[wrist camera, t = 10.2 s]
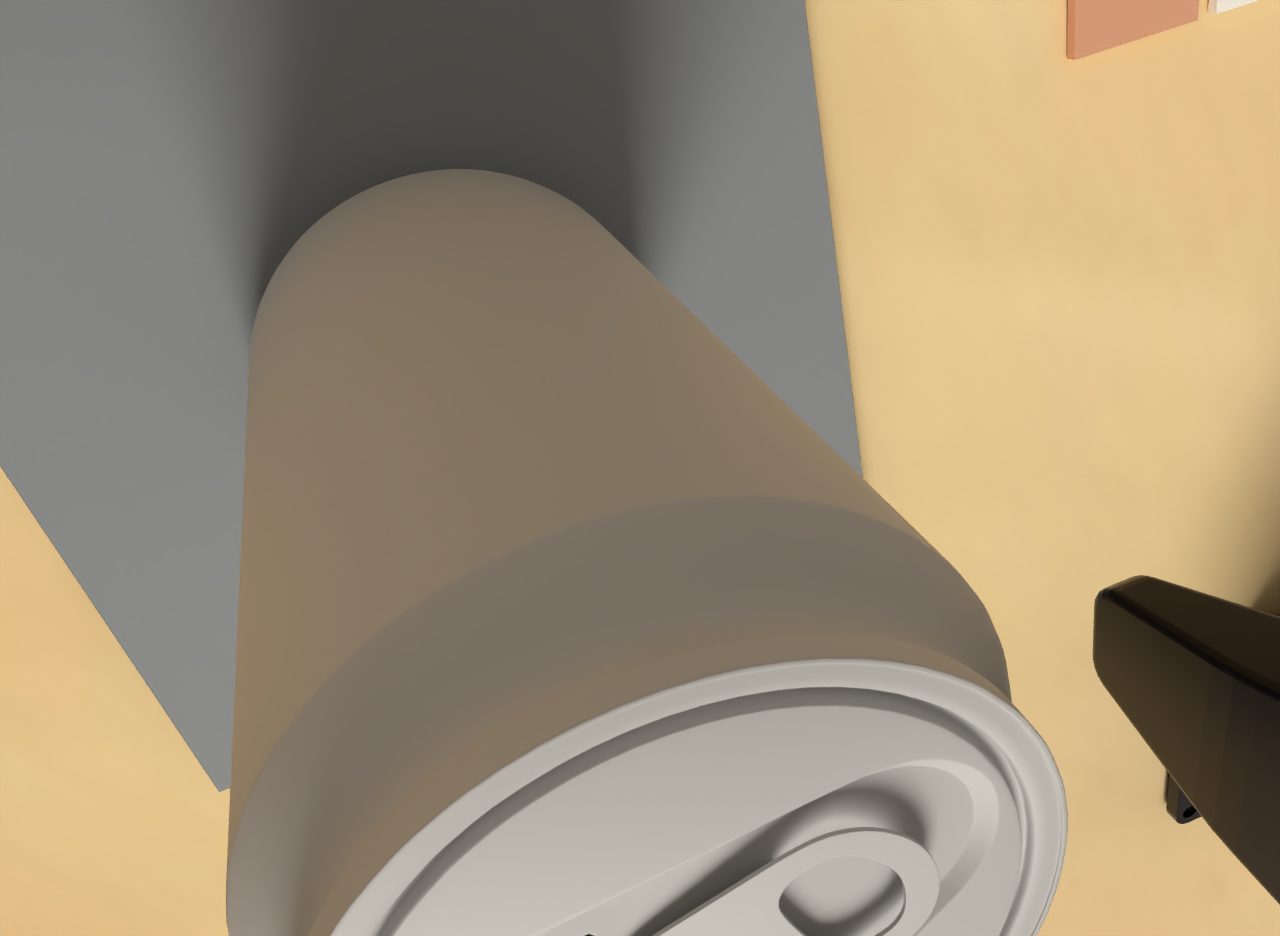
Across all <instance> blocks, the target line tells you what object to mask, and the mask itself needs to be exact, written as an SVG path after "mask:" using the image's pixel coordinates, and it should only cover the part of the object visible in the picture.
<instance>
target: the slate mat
mask: <svg viewBox="0 0 1280 936" xmlns="http://www.w3.org/2000/svg"><path fill="white" fill-rule="evenodd" d="M446 169H473V170H484V171H492V172H497V173H503V174H508V175H511V176H515V177H518V178H522V179H525V180H528V181H531V182H533V183H536V184H539V185H541V186H544V187H546V188H548V189H550V190H552V191H554V192H556V193H558V194H560V195H562V196H563V197H565V198H567V199H569V200H571V201H572V202H574V203H575V204H577V205H578V206H580V207H581V208H582V209H583V210H585V211H586V212H587V213H588V214H590V215H591V216H592V217H593V218H595V219H596V220H597V221H598V222H599V223H600V224H601V225H602V226H603V227H604V228H605V229H606V230H608V231H609V232H610V233H611V234H612V235H613V236H614V237H615V238H616V239H617V240H618V241H619V242H620V243H621V244H622V245H623V246H624V247H625V248H626V249H627V250H628V251H629V252H630V253H631V254H632V255H633V256H634V257H635V258H636V259H637V260H638V261H639V262H640V263H641V264H643V265H644V266H645V267H646V268H647V269H648V270H649V271H650V272H651V273H652V274H653V275H654V276H655V277H656V278H657V279H658V280H659V281H660V282H661V283H662V284H663V285H664V286H665V287H666V288H667V289H668V290H669V291H670V292H671V293H672V294H673V295H674V296H675V297H676V298H678V299H679V300H680V301H681V302H682V303H683V304H684V305H685V306H686V307H687V308H688V309H689V310H690V311H691V312H692V313H693V314H694V315H695V316H696V317H697V318H698V319H699V320H700V321H701V322H702V323H703V324H704V325H705V326H706V327H707V328H708V329H709V330H710V331H711V332H713V333H714V334H715V335H716V336H717V337H718V338H719V339H720V340H721V341H722V342H723V343H724V344H725V345H726V346H727V347H728V348H729V349H730V350H731V351H732V352H733V353H734V354H735V355H736V356H737V357H738V358H739V359H740V360H741V361H742V362H743V363H744V364H745V365H746V366H748V367H749V368H750V369H751V370H752V371H753V372H754V373H755V374H756V375H757V376H758V377H759V378H760V379H761V380H762V381H763V382H764V383H765V384H766V385H767V386H768V387H769V388H770V389H771V390H772V391H773V392H774V393H775V394H776V395H777V396H778V397H779V398H780V399H781V400H783V401H784V402H785V403H786V404H787V405H788V406H789V407H790V408H791V409H792V410H793V411H794V412H795V413H796V414H797V415H798V416H799V417H800V418H801V419H802V420H803V421H804V422H805V423H806V424H807V425H808V426H809V427H810V428H811V429H812V430H813V431H814V432H815V433H816V434H818V435H819V436H820V437H821V438H822V439H823V440H824V441H825V442H826V443H827V444H828V445H829V446H830V447H831V448H832V449H833V450H834V451H835V452H836V453H837V454H838V455H839V456H840V457H841V458H842V459H843V460H844V461H845V462H846V463H847V464H848V465H849V466H850V467H851V468H853V469H854V470H855V471H856V472H857V473H858V474H859V475H860V476H861V477H862V468H861V460H860V452H859V444H858V436H857V427H856V419H855V411H854V403H853V395H852V386H851V378H850V370H849V362H848V354H847V345H846V337H845V329H844V321H843V313H842V304H841V296H840V288H839V280H838V272H837V263H836V255H835V247H834V239H833V231H832V222H831V214H830V206H829V198H828V190H827V181H826V173H825V165H824V157H823V148H822V140H821V132H820V124H819V116H818V107H817V99H816V91H815V83H814V75H813V66H812V58H811V50H810V42H809V34H808V25H807V17H806V9H805V1H804V0H0V467H1V468H2V470H3V471H4V473H5V474H6V476H7V477H8V478H9V480H10V481H11V483H12V484H13V486H14V487H15V489H16V490H17V492H18V493H19V495H20V496H21V498H22V499H23V501H24V502H25V504H26V505H27V507H28V508H29V510H30V511H31V513H32V514H33V516H34V517H35V519H36V520H37V522H38V523H39V525H40V526H41V528H42V529H43V531H44V532H45V534H46V535H47V536H48V538H49V539H50V541H51V542H52V544H53V545H54V547H55V548H56V550H57V551H58V553H59V554H60V556H61V557H62V559H63V560H64V562H65V563H66V565H67V566H68V568H69V569H70V571H71V572H72V574H73V575H74V577H75V578H76V580H77V581H78V583H79V584H80V586H81V587H82V589H83V590H84V592H85V593H86V595H87V596H88V597H89V599H90V600H91V602H92V603H93V605H94V606H95V608H96V609H97V611H98V612H99V614H100V615H101V617H102V618H103V620H104V621H105V623H106V624H107V626H108V627H109V629H110V630H111V632H112V633H113V635H114V636H115V638H116V639H117V641H118V642H119V644H120V645H121V647H122V648H123V650H124V651H125V653H126V654H127V656H128V657H129V658H130V660H131V661H132V663H133V664H134V666H135V667H136V669H137V670H138V672H139V673H140V675H141V676H142V678H143V679H144V681H145V682H146V684H147V685H148V687H149V688H150V690H151V691H152V693H153V694H154V696H155V697H156V699H157V700H158V702H159V703H160V705H161V706H162V708H163V709H164V711H165V712H166V714H167V715H168V717H169V718H170V719H171V721H172V722H173V724H174V725H175V727H176V728H177V730H178V731H179V733H180V734H181V736H182V737H183V739H184V740H185V742H186V743H187V745H188V746H189V748H190V749H191V751H192V752H193V754H194V755H195V757H196V758H197V760H198V761H199V763H200V764H201V766H202V767H203V769H204V770H205V772H206V773H207V775H208V776H209V778H210V779H211V780H212V782H213V783H214V785H215V786H216V788H217V789H218V791H219V792H220V791H223V790H225V789H228V788H230V786H231V763H232V740H233V717H234V694H235V671H236V648H237V625H238V602H239V580H240V557H241V534H242V511H243V488H244V465H245V442H246V419H247V396H248V373H249V351H250V341H251V335H252V330H253V326H254V322H255V318H256V314H257V310H258V307H259V305H260V302H261V300H262V297H263V295H264V293H265V291H266V288H267V286H268V284H269V282H270V280H271V278H272V276H273V274H274V273H275V271H276V269H277V268H278V266H279V265H280V263H281V262H282V260H283V259H284V257H285V256H286V255H287V253H288V252H289V251H290V249H291V248H292V247H293V245H294V244H295V243H296V242H297V241H298V240H299V239H300V237H301V236H302V235H303V234H304V233H305V232H306V231H307V230H308V229H310V228H311V227H312V226H313V225H314V224H315V223H316V222H317V221H318V220H319V219H321V218H322V217H323V216H324V215H325V214H327V213H328V212H330V211H331V210H333V209H334V208H335V207H337V206H338V205H340V204H341V203H343V202H345V201H347V200H348V199H350V198H352V197H353V196H355V195H357V194H359V193H361V192H363V191H365V190H367V189H369V188H371V187H374V186H376V185H379V184H381V183H384V182H387V181H390V180H392V179H396V178H399V177H403V176H407V175H411V174H416V173H421V172H427V171H434V170H446ZM862 478H863V477H862Z"/></svg>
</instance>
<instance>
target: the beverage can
mask: <svg viewBox="0 0 1280 936" xmlns="http://www.w3.org/2000/svg"><path fill="white" fill-rule="evenodd" d="M1067 831H1068V813H1067V805H1066V797H1065V790H1064V785H1063V781H1062V778H1061V775H1060V773H1059V770H1058V768H1057V765H1056V763H1055V761H1054V758H1053V756H1052V754H1051V752H1050V750H1049V748H1048V746H1047V744H1046V743H1045V741H1044V740H1043V739H1042V737H1041V736H1040V735H1039V733H1038V732H1037V731H1036V730H1035V729H1034V728H1033V726H1032V725H1031V724H1030V723H1029V722H1028V720H1027V719H1026V718H1025V717H1024V716H1023V715H1022V714H1021V713H1020V711H1019V710H1018V709H1017V708H1016V707H1015V706H1014V705H1013V704H1012V701H1011V693H1010V685H1009V679H1008V672H1007V666H1006V660H1005V656H1004V651H1003V648H1002V645H1001V643H1000V640H999V637H998V635H997V633H996V630H995V628H994V626H993V623H992V621H991V619H990V616H989V614H988V612H987V610H986V608H985V606H984V605H983V603H982V602H981V600H980V599H979V597H978V596H977V595H976V593H975V592H974V591H973V590H972V588H971V587H970V586H969V585H968V583H967V582H966V581H965V580H964V578H963V577H962V576H961V575H960V573H959V572H958V571H957V570H956V569H955V568H954V567H953V566H952V565H951V564H950V563H949V562H948V561H947V560H946V559H945V558H944V557H943V556H942V555H941V554H940V553H939V552H938V551H937V550H936V549H935V548H934V547H933V546H932V545H931V544H930V543H929V542H928V541H927V540H926V539H925V538H924V537H923V536H921V535H920V534H919V533H918V532H917V531H916V530H915V529H914V528H913V527H912V526H911V525H910V524H909V523H908V522H907V521H906V520H905V519H904V518H903V517H902V516H901V515H900V514H899V513H898V512H897V511H896V510H895V509H894V508H893V507H892V506H891V505H890V504H889V503H888V502H886V501H885V500H884V499H883V498H882V497H881V496H880V495H879V494H878V493H877V492H876V491H875V490H874V489H873V488H872V487H871V486H870V485H869V484H868V483H867V482H866V481H865V480H864V479H863V478H862V477H861V476H860V475H859V474H858V473H857V472H856V471H855V470H854V469H853V468H851V467H850V466H849V465H848V464H847V463H846V462H845V461H844V460H843V459H842V458H841V457H840V456H839V455H838V454H837V453H836V452H835V451H834V450H833V449H832V448H831V447H830V446H829V445H828V444H827V443H826V442H825V441H824V440H823V439H822V438H821V437H820V436H819V435H818V434H816V433H815V432H814V431H813V430H812V429H811V428H810V427H809V426H808V425H807V424H806V423H805V422H804V421H803V420H802V419H801V418H800V417H799V416H798V415H797V414H796V413H795V412H794V411H793V410H792V409H791V408H790V407H789V406H788V405H787V404H786V403H785V402H784V401H783V400H781V399H780V398H779V397H778V396H777V395H776V394H775V393H774V392H773V391H772V390H771V389H770V388H769V387H768V386H767V385H766V384H765V383H764V382H763V381H762V380H761V379H760V378H759V377H758V376H757V375H756V374H755V373H754V372H753V371H752V370H751V369H750V368H749V367H748V366H746V365H745V364H744V363H743V362H742V361H741V360H740V359H739V358H738V357H737V356H736V355H735V354H734V353H733V352H732V351H731V350H730V349H729V348H728V347H727V346H726V345H725V344H724V343H723V342H722V341H721V340H720V339H719V338H718V337H717V336H716V335H715V334H714V333H713V332H711V331H710V330H709V329H708V328H707V327H706V326H705V325H704V324H703V323H702V322H701V321H700V320H699V319H698V318H697V317H696V316H695V315H694V314H693V313H692V312H691V311H690V310H689V309H688V308H687V307H686V306H685V305H684V304H683V303H682V302H681V301H680V300H679V299H678V298H676V297H675V296H674V295H673V294H672V293H671V292H670V291H669V290H668V289H667V288H666V287H665V286H664V285H663V284H662V283H661V282H660V281H659V280H658V279H657V278H656V277H655V276H654V275H653V274H652V273H651V272H650V271H649V270H648V269H647V268H646V267H645V266H644V265H643V264H641V263H640V262H639V261H638V260H637V259H636V258H635V257H634V256H633V255H632V254H631V253H630V252H629V251H628V250H627V249H626V248H625V247H624V246H623V245H622V244H621V243H620V242H619V241H618V240H617V239H616V238H615V237H614V236H613V235H612V234H611V233H610V232H609V231H608V230H606V229H605V228H604V227H603V226H602V225H601V224H600V223H599V222H598V221H597V220H596V219H595V218H593V217H592V216H591V215H590V214H588V213H587V212H586V211H585V210H583V209H582V208H581V207H580V206H578V205H577V204H575V203H574V202H572V201H571V200H569V199H567V198H565V197H563V196H562V195H560V194H558V193H556V192H554V191H552V190H550V189H548V188H546V187H544V186H541V185H539V184H536V183H533V182H531V181H528V180H525V179H522V178H518V177H515V176H511V175H508V174H503V173H497V172H492V171H484V170H473V169H446V170H434V171H427V172H421V173H416V174H411V175H407V176H403V177H399V178H396V179H392V180H390V181H387V182H384V183H381V184H379V185H376V186H374V187H371V188H369V189H367V190H365V191H363V192H361V193H359V194H357V195H355V196H353V197H352V198H350V199H348V200H347V201H345V202H343V203H341V204H340V205H338V206H337V207H335V208H334V209H333V210H331V211H330V212H328V213H327V214H325V215H324V216H323V217H322V218H321V219H319V220H318V221H317V222H316V223H315V224H314V225H313V226H312V227H311V228H310V229H308V230H307V231H306V232H305V233H304V234H303V235H302V236H301V237H300V239H299V240H298V241H297V242H296V243H295V244H294V245H293V247H292V248H291V249H290V251H289V252H288V253H287V255H286V256H285V257H284V259H283V260H282V262H281V263H280V265H279V266H278V268H277V269H276V271H275V273H274V274H273V276H272V278H271V280H270V282H269V284H268V286H267V288H266V291H265V293H264V295H263V297H262V300H261V302H260V305H259V307H258V310H257V314H256V318H255V322H254V326H253V330H252V335H251V341H250V351H249V373H248V396H247V419H246V442H245V465H244V488H243V511H242V534H241V557H240V580H239V602H238V625H237V648H236V671H235V694H234V717H233V740H232V763H231V786H230V809H229V832H228V855H227V880H226V919H227V927H228V932H229V936H1037V934H1038V932H1039V930H1040V928H1041V926H1042V924H1043V922H1044V920H1045V917H1046V915H1047V913H1048V911H1049V908H1050V906H1051V903H1052V900H1053V897H1054V895H1055V892H1056V889H1057V886H1058V882H1059V878H1060V875H1061V871H1062V867H1063V862H1064V856H1065V850H1066V842H1067Z"/></svg>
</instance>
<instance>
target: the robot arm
mask: <svg viewBox="0 0 1280 936" xmlns="http://www.w3.org/2000/svg"><path fill="white" fill-rule="evenodd" d="M1093 662H1094V666H1095V669H1096V672H1097V674H1098V676H1099V678H1100V680H1101V682H1102V684H1103V685H1104V687H1105V688H1106V689H1107V691H1108V692H1109V693H1110V695H1111V696H1112V697H1113V699H1114V700H1115V701H1116V703H1117V704H1118V705H1119V707H1120V708H1121V709H1122V711H1123V712H1124V713H1125V715H1126V716H1127V717H1128V719H1129V720H1130V722H1131V723H1132V724H1133V726H1134V727H1135V728H1136V730H1137V731H1138V732H1139V734H1140V735H1141V736H1142V738H1143V739H1144V740H1145V742H1146V743H1147V744H1148V746H1149V747H1150V748H1151V750H1152V751H1153V752H1154V754H1155V755H1156V756H1157V758H1158V759H1159V760H1160V762H1161V763H1162V764H1163V766H1164V767H1165V768H1166V770H1167V771H1168V772H1169V774H1170V775H1169V786H1168V796H1167V807H1166V809H1167V812H1168V813H1169V814H1170V815H1171V816H1172V817H1173V818H1174V819H1175V820H1176V821H1177V822H1178V823H1179V824H1185V823H1188V822H1190V821H1192V820H1195V819H1197V818H1199V817H1201V816H1202V817H1203V819H1204V820H1205V821H1206V822H1207V824H1208V825H1209V826H1210V827H1211V829H1212V830H1213V831H1214V832H1215V833H1216V835H1217V836H1218V837H1219V838H1220V839H1221V840H1222V841H1223V843H1224V844H1225V845H1226V846H1227V847H1228V848H1229V849H1230V851H1231V852H1232V853H1233V854H1234V855H1235V856H1236V857H1237V858H1238V859H1239V861H1240V862H1241V863H1242V864H1243V865H1244V866H1245V867H1246V868H1247V869H1248V870H1249V872H1250V873H1251V874H1252V875H1253V876H1254V877H1255V878H1256V879H1257V880H1258V881H1259V882H1260V884H1261V885H1262V886H1263V887H1264V888H1265V889H1266V890H1267V891H1268V892H1269V893H1270V895H1271V896H1272V897H1273V898H1274V899H1275V900H1276V901H1277V902H1278V903H1279V904H1280V617H1278V616H1275V615H1272V614H1269V613H1266V612H1262V611H1259V610H1256V609H1253V608H1250V607H1246V606H1243V605H1240V604H1237V603H1234V602H1231V601H1227V600H1224V599H1221V598H1218V597H1215V596H1211V595H1208V594H1205V593H1202V592H1199V591H1196V590H1192V589H1189V588H1186V587H1183V586H1180V585H1176V584H1173V583H1170V582H1167V581H1164V580H1161V579H1157V578H1154V577H1150V576H1143V575H1140V576H1134V577H1131V578H1128V579H1126V580H1123V581H1121V582H1119V583H1116V584H1114V585H1111V586H1109V587H1107V588H1104V589H1103V590H1101V591H1100V592H1099V593H1098V595H1097V597H1096V599H1095V603H1094V630H1093Z"/></svg>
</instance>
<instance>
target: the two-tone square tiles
mask: <svg viewBox="0 0 1280 936" xmlns="http://www.w3.org/2000/svg"><path fill="white" fill-rule="evenodd" d="M1254 1H1258V0H1209V5H1208V13H1213V14H1217V13H1221V12H1224V11H1227V10H1230V9H1233V8H1236V7H1239V6H1242V5H1245V4H1248V3H1251V2H1254ZM1198 9H1199V0H1068V27H1067V59H1072V60H1076V59H1079V58H1082V57H1085V56H1088V55H1091V54H1094V53H1097V52H1100V51H1103V50H1107V49H1110V48H1113V47H1116V46H1119V45H1122V44H1125V43H1128V42H1131V41H1134V40H1137V39H1140V38H1144V37H1147V36H1150V35H1153V34H1156V33H1159V32H1162V31H1165V30H1168V29H1171V28H1174V27H1177V26H1181V25H1184V24H1187V23H1190V22H1193V21H1196V20H1198Z"/></svg>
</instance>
